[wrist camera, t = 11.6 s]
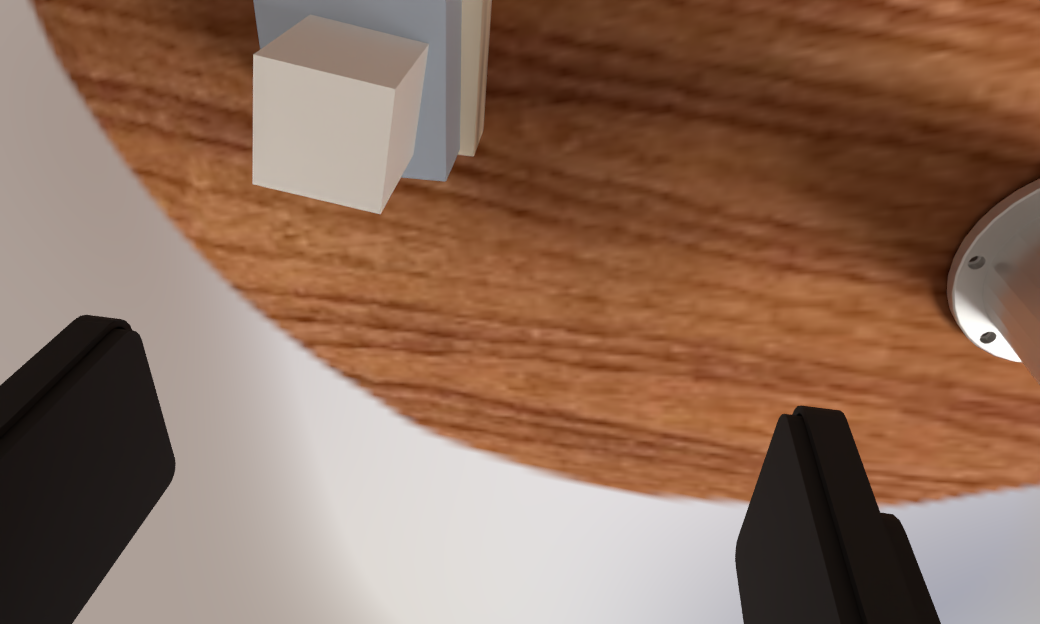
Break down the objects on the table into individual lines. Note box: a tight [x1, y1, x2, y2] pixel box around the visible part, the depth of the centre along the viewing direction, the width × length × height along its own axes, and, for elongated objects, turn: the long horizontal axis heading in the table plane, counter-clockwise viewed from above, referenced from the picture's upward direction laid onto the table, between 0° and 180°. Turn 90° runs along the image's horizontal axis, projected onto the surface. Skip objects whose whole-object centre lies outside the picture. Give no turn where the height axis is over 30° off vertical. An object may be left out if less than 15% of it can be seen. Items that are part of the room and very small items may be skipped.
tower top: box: [253, 0, 462, 181], centre depth 34 cm, size 8×8×4 cm
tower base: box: [458, 0, 492, 157], centre depth 37 cm, size 9×9×4 cm
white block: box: [253, 14, 429, 214], centre depth 29 cm, size 5×5×6 cm
